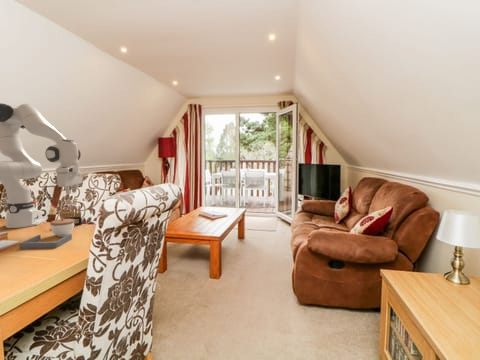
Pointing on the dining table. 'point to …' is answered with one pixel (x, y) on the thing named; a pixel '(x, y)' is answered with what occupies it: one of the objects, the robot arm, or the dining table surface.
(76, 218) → the ammunition clip
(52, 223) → the lidded jar
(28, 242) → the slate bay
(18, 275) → the dining table surface
